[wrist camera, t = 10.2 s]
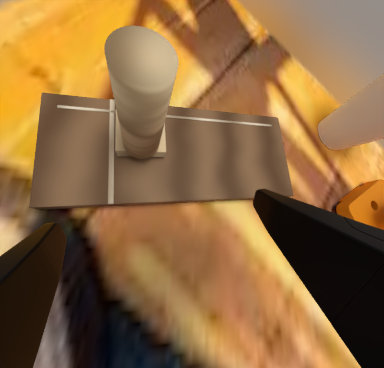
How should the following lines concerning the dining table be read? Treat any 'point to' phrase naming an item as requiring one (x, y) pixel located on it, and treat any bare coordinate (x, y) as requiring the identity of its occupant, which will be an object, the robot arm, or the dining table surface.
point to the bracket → (364, 204)
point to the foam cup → (356, 119)
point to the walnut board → (153, 166)
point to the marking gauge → (140, 89)
